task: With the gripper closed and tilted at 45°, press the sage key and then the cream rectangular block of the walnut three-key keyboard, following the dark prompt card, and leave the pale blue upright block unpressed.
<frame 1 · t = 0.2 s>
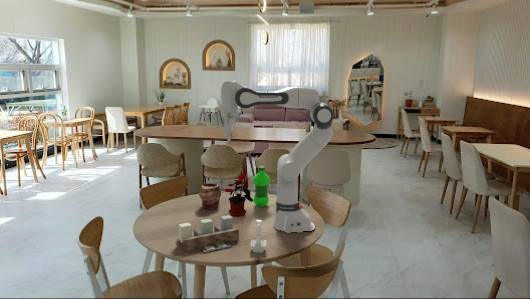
hand: (229, 139, 208), 48 cm above the table, tool pointing down, fingers open, 8 cm apart
pale blue upright block: (226, 224, 204), point 6 cm above the table, slide at 0.0 cm
decorative planter: (211, 206, 249), on the table
sage key: (206, 228, 198), point 6 cm above the table, slide at 0.0 cm
white upright post stand: (258, 250, 188), on the table
plastic bottle: (261, 205, 251), on the table
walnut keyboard: (208, 240, 198), on the table
cream rectangular block: (185, 232, 193), point 6 cm above the table, slide at 0.0 cm
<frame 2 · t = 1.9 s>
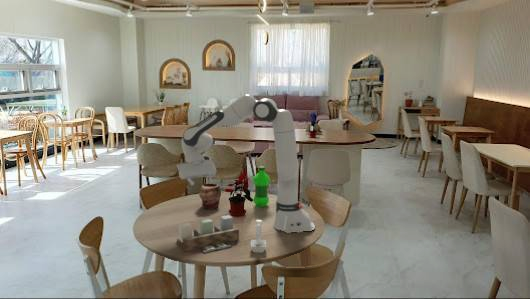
hand: (201, 183, 210), 24 cm above the table, tool tilted 45°, fingers open, 8 cm apart
nothing on the table moved.
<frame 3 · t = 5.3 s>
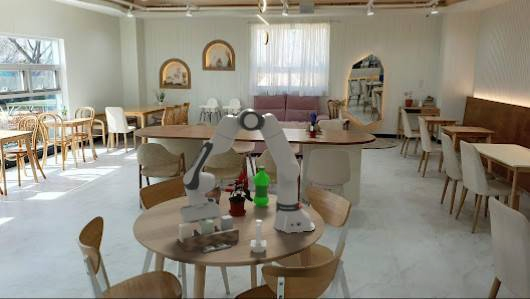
hand: (205, 228, 199), 5 cm above the table, tool tilted 45°, fingers closed, pressing on sage key
sage key: (207, 229, 197), point 6 cm above the table, slide at 1.3 cm, touching gripper
everything else where it was.
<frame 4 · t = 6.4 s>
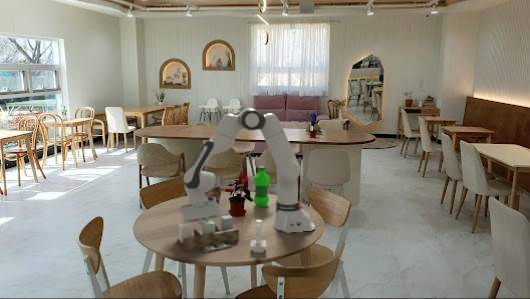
hand: (205, 227, 199), 6 cm above the table, tool tilted 45°, fingers closed
sage key: (208, 230, 196), point 6 cm above the table, slide at 3.0 cm
everything else where it was.
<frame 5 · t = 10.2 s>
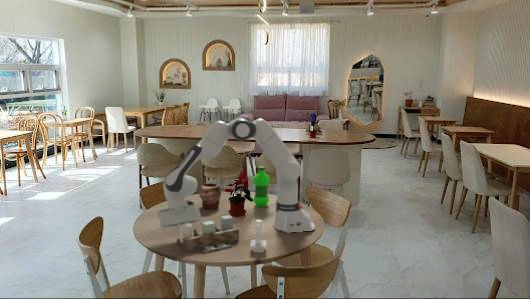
hand: (184, 232, 194), 5 cm above the table, tool tilted 45°, fingers closed, pressing on cream rectangular block
cream rectangular block: (185, 233, 192), point 6 cm above the table, slide at 1.0 cm, touching gripper
everything else where it was.
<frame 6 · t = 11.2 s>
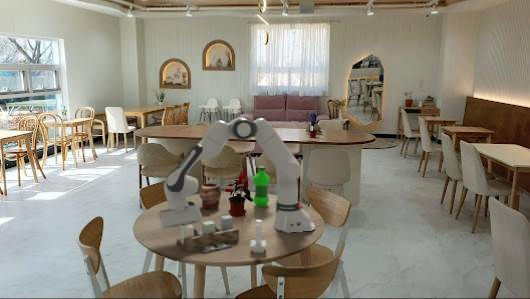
hand: (185, 233, 193), 6 cm above the table, tool tilted 45°, fingers closed
cream rectangular block: (187, 234, 190), point 6 cm above the table, slide at 3.0 cm
everything else where it was.
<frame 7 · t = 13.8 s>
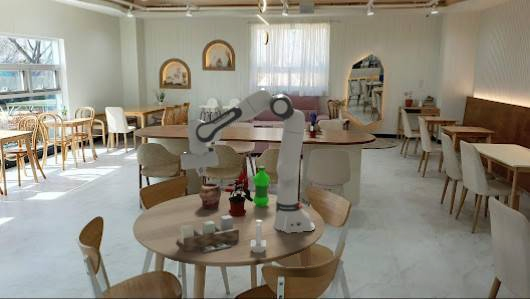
hand: (201, 176, 212), 28 cm above the table, tool tilted 15°, fingers closed
nothing on the table moved.
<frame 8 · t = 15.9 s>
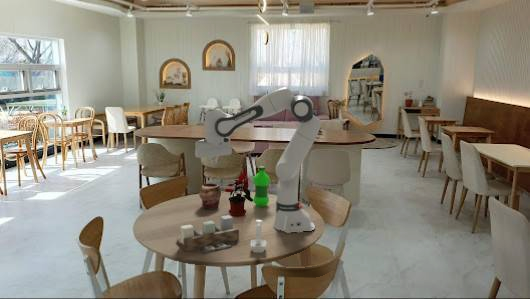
hand: (213, 164, 216), 33 cm above the table, tool pointing down, fingers closed
nothing on the table moved.
at the end: sage key slide at 3.0 cm; cream rectangular block slide at 3.0 cm; pale blue upright block slide at 0.0 cm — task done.
